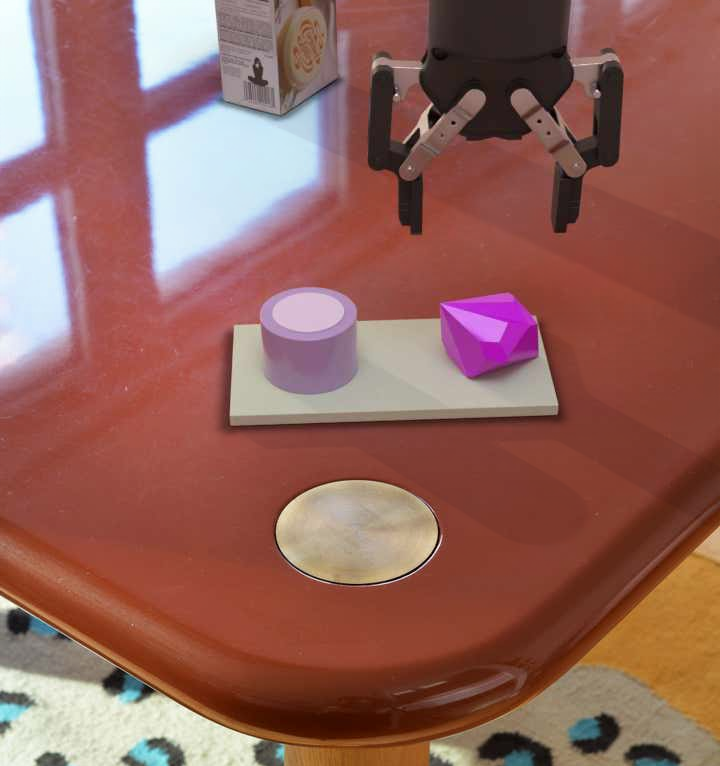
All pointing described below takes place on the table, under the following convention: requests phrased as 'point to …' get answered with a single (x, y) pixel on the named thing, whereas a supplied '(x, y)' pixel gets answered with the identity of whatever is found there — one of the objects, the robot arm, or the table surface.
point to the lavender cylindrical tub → (309, 340)
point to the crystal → (488, 333)
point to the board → (391, 382)
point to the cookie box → (276, 51)
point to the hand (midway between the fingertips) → (487, 227)
